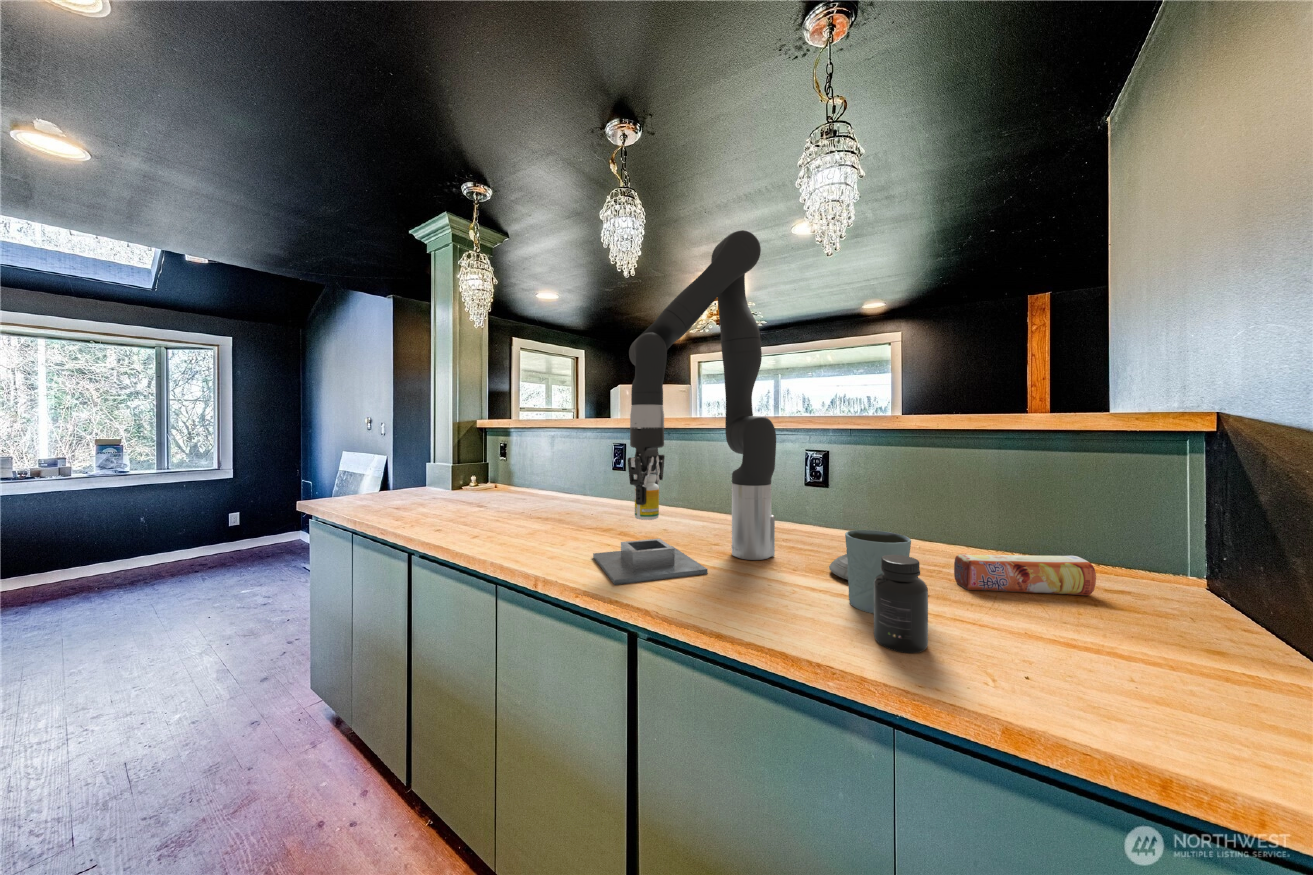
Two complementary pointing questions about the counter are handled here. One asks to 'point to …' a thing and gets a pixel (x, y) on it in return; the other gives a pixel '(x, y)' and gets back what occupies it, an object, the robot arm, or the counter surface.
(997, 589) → the snack package
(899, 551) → the grey-green cup
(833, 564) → the flying saucer
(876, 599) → the supplement bottle
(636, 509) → the supplement bottle
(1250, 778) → the counter surface
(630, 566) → the sleeve
